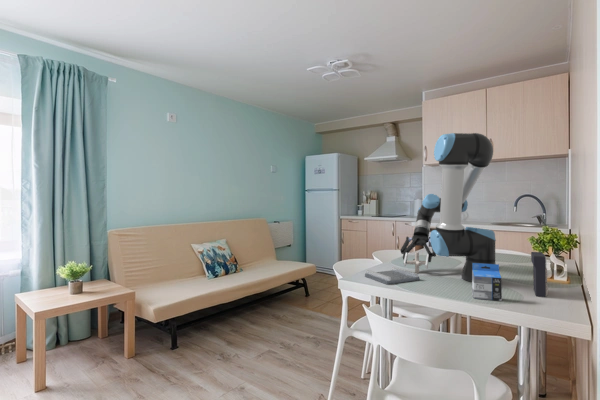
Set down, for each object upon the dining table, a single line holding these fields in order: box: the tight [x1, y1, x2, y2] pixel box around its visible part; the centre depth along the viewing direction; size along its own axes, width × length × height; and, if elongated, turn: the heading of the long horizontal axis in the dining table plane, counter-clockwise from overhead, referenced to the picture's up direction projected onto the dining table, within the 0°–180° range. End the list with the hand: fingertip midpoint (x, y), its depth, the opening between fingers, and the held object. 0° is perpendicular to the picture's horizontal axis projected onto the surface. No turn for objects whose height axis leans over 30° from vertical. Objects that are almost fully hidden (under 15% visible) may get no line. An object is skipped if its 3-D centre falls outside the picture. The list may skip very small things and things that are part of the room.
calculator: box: [530, 251, 549, 298], centre depth 124 cm, size 11×4×15 cm, turn 148°
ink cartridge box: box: [471, 263, 503, 302], centre depth 118 cm, size 9×4×12 cm, turn 70°
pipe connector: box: [406, 251, 426, 274], centre depth 160 cm, size 10×10×10 cm
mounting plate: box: [364, 266, 420, 285], centre depth 149 cm, size 16×18×3 cm
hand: (415, 265), depth 158 cm, fingers closed on pipe connector, 9 cm apart
